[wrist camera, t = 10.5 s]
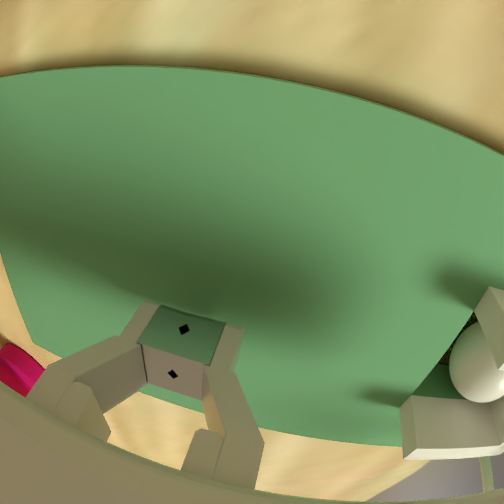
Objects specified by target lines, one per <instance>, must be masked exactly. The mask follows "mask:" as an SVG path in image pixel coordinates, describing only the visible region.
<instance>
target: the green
mask: <svg viewBox="0 0 504 504" xmlns="http://www.w3.org/2000/svg"><path fill="white" fill-rule="evenodd" d="M0 253H1V256H2V260H3V263H4V266H5V270H6V273H7V276H8V279H9V282H10V285H11V288H12V291H13V294H14V297H15V299H16V302H17V305H18V307H19V310H20V313H21V315H22V318H23V320H24V323H25V325H26V327H27V330H28V332H29V334H30V337H31V339H32V341H33V343H35V344H36V345H38V346H40V347H42V348H44V349H46V350H48V351H50V352H51V353H53V354H55V355H57V356H59V357H61V358H65V357H67V356H70V355H72V354H74V353H76V352H79V351H81V350H83V349H85V348H87V347H90V346H92V345H94V344H96V343H99V342H101V341H103V340H105V339H107V338H110V337H112V336H114V335H115V336H118V337H119V336H120V334H121V333H122V331H123V330H124V328H125V327H126V325H127V324H128V322H129V321H130V320H131V318H132V317H133V315H134V314H135V312H136V311H137V309H138V308H139V306H140V305H141V303H142V302H144V301H145V300H148V301H151V302H154V303H158V304H161V305H165V306H168V307H171V308H174V309H177V310H180V311H183V312H187V313H190V314H195V315H198V316H202V317H206V318H210V319H214V320H218V321H222V322H226V323H229V324H233V325H237V326H241V327H244V332H243V337H242V342H241V347H240V352H239V356H238V360H237V364H236V369H235V372H234V373H235V374H236V376H237V379H238V381H239V384H240V386H241V388H242V391H243V393H244V396H245V398H246V401H247V403H248V405H249V408H250V410H251V413H252V415H253V417H254V420H255V422H256V424H257V427H259V428H264V429H269V430H273V431H278V432H283V433H289V434H294V435H300V436H306V437H312V438H318V439H325V440H332V441H340V442H348V443H357V444H368V445H380V446H396V447H403V459H456V458H471V457H479V460H480V468H481V475H482V483H483V492H487V491H492V490H494V483H493V476H492V469H491V463H490V457H489V456H491V455H499V454H501V453H502V452H504V395H503V396H502V397H500V398H499V399H496V400H494V401H490V402H485V403H479V402H473V401H470V400H468V399H466V398H465V397H463V396H462V395H461V394H460V393H459V392H458V391H457V390H456V388H455V387H454V385H453V383H452V380H451V377H450V372H449V365H444V364H437V363H438V361H439V360H440V359H441V357H442V356H443V355H444V353H445V352H446V351H447V349H448V348H449V347H450V345H451V344H452V342H453V341H454V340H455V338H456V337H457V335H458V334H459V333H460V331H461V330H462V328H463V327H464V325H465V324H466V322H467V321H468V319H469V318H470V316H471V315H472V313H473V311H474V312H475V314H476V317H477V319H478V321H479V323H480V326H481V328H482V330H483V333H484V335H485V337H486V340H487V342H488V345H489V347H490V350H491V352H492V355H493V358H494V360H495V363H496V366H497V368H498V370H504V154H502V153H500V152H498V151H496V150H494V149H492V148H490V147H488V146H486V145H484V144H482V143H480V142H478V141H476V140H473V139H471V138H469V137H467V136H465V135H462V134H460V133H458V132H455V131H453V130H451V129H448V128H446V127H444V126H441V125H439V124H436V123H434V122H431V121H428V120H426V119H423V118H421V117H418V116H415V115H412V114H410V113H407V112H404V111H401V110H398V109H395V108H392V107H389V106H386V105H383V104H380V103H377V102H373V101H370V100H367V99H363V98H360V97H356V96H353V95H349V94H345V93H341V92H338V91H334V90H330V89H325V88H321V87H317V86H313V85H308V84H303V83H299V82H294V81H289V80H284V79H278V78H273V77H267V76H261V75H254V74H248V73H240V72H233V71H225V70H216V69H206V68H194V67H180V66H160V65H100V66H81V67H68V68H57V69H48V70H39V71H32V72H25V73H18V74H12V75H7V76H3V77H0ZM139 392H142V393H144V394H147V395H150V396H153V397H155V398H158V399H161V400H164V401H167V402H170V403H173V404H176V405H179V406H182V407H185V408H188V409H192V410H195V411H198V412H202V413H204V411H203V407H202V403H201V400H198V399H195V398H192V397H189V396H186V395H183V394H180V393H177V392H174V391H171V390H167V389H164V388H161V387H158V386H155V385H152V384H148V383H147V385H146V386H145V387H143V388H142V389H140V390H139Z"/></svg>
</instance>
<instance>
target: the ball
mask: <svg viewBox="0 0 504 504" xmlns="http://www.w3.org/2000/svg"><path fill="white" fill-rule="evenodd" d="M449 372H450V377H451V380H452V383H453V385H454V387H455V388H456V390H457V391H458V392H459V393H460V394H461V395H462V396H463V397H465V398H466V399H468V400H470V401H473V402H479V403H485V402H490V401H494V400H496V399H499V398H500V397H502V396H503V395H504V370H498V368H497V366H496V363H495V360H494V358H493V355H492V352H491V350H490V347H489V345H488V342H487V340H486V337H485V335H484V333H483V330H482V328H481V326H480V323H479V321H478V322H476V323H474V324H472V325H471V326H469V327H468V328H467V329H465V330H464V331H463V332H462V334H461V335H460V336H459V337H458V339H457V340H456V342H455V344H454V346H453V348H452V351H451V355H450V360H449Z"/></svg>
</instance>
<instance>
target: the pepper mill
mask: <svg viewBox="0 0 504 504" xmlns="http://www.w3.org/2000/svg"><path fill="white" fill-rule="evenodd" d="M44 371H45V370H44V369H43V368H42V367H41V366H40V365H39V364H38V362H36V361H35V360H34V359H33V358H32V357H31V356H30V355H28V354H27V353H26V352H24V351H23V350H22V349H20V348H18V347H17V346H15V345H12V344H6V345H4V347H3V348H2V349H1V350H0V381H1V382H2V383H4V384H5V385H7V386H8V387H10V388H11V389H12V390H14V391H15V392H17V393H18V394H20V395H22V396H23V397H25V398H26V396H27V395H28V393H29V392H30V390H31V389H32V387H33V386H34V385H35V383H36V382H37V380H38V379H39V378H40V376H41V375H42V373H43V372H44Z"/></svg>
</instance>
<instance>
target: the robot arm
mask: <svg viewBox="0 0 504 504" xmlns="http://www.w3.org/2000/svg"><path fill="white" fill-rule="evenodd" d="M243 332H244V327H241V326H237V325H233V324H229V323H226V322H222V321H218V320H214V319H210V318H206V317H202V316H198V315H195V314H190V313H187V312H183V311H180V310H177V309H174V308H171V307H168V306H165V305H161V304H158V303H154V302H151V301H148V300H145V301H144V302H142V303H141V305H140V306H139V308H138V309H137V311H136V312H135V314H134V315H133V317H132V318H131V320H130V321H129V322H128V324H127V325H126V327H125V328H124V330H123V331H122V333H121V334H120V336H119V337H118V336H115V335H114V336H112V337H110V338H107V339H105V340H103V341H101V342H99V343H96V344H94V345H92V346H90V347H87V348H85V349H83V350H81V351H79V352H76V353H74V354H72V355H70V356H67V357H65V358H63V359H61V360H58V361H56V362H54V363H52V364H49V365H48V366H47V368H46V369H45V371H44V372H43V373H42V375H41V376H40V378H39V379H38V380H37V382H36V383H35V385H34V386H33V387H32V389H31V390H30V392H29V393H28V395H27V396H26V398H25V397H23V396H22V395H20V394H18V393H17V392H15V391H14V390H12V389H11V388H10V387H8V386H7V385H5V384H4V383H2V382H1V381H0V504H504V488H501V489H497V490H492V491H487V492H482V493H477V494H471V495H464V496H457V497H449V498H441V499H431V500H418V501H399V502H358V501H338V500H325V499H314V498H305V497H297V496H290V495H283V494H277V493H271V492H265V491H260V490H254V489H255V484H256V480H257V475H258V471H259V466H260V462H261V457H262V452H263V448H264V441H263V438H262V436H261V434H260V431H259V429H258V427H257V424H256V422H255V420H254V417H253V415H252V413H251V410H250V408H249V405H248V403H247V401H246V398H245V396H244V393H243V391H242V388H241V386H240V384H239V381H238V379H237V376H236V374H235V373H234V372H235V369H236V364H237V360H238V356H239V352H240V347H241V342H242V337H243ZM147 383H148V384H152V385H155V386H158V387H161V388H164V389H167V390H171V391H174V392H177V393H180V394H183V395H186V396H189V397H192V398H195V399H198V400H201V403H202V407H203V411H204V414H205V418H206V422H207V425H208V429H209V430H206V429H199V430H197V431H195V434H194V436H193V439H192V442H191V444H190V447H189V450H188V452H187V455H186V457H185V460H184V463H183V465H182V468H181V470H178V469H174V468H171V467H168V466H166V465H163V464H160V463H157V462H154V461H152V460H149V459H146V458H144V457H141V456H138V455H136V454H133V453H131V452H128V451H126V450H124V449H121V448H119V447H117V446H114V445H112V444H110V443H108V442H107V440H108V438H109V436H110V433H111V430H110V428H109V426H108V424H107V422H106V420H105V417H104V415H103V414H104V413H105V412H107V411H108V410H110V409H111V408H113V407H114V406H116V405H117V404H119V403H120V402H122V401H124V400H125V399H127V398H128V397H130V396H131V395H133V394H134V393H136V392H137V391H139V390H140V389H142V388H143V387H145V386H146V385H147Z"/></svg>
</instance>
